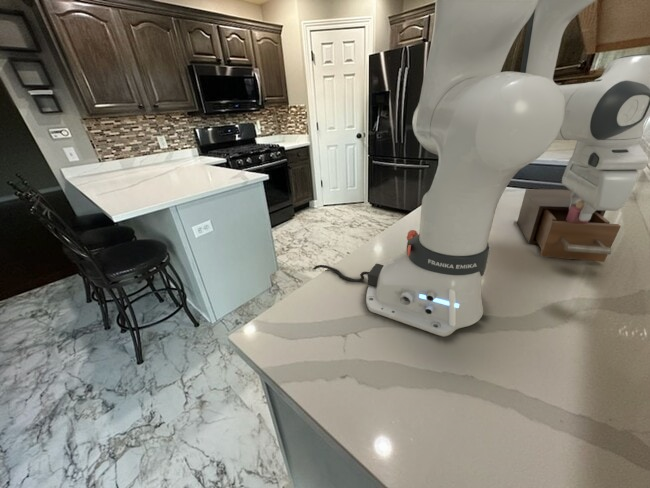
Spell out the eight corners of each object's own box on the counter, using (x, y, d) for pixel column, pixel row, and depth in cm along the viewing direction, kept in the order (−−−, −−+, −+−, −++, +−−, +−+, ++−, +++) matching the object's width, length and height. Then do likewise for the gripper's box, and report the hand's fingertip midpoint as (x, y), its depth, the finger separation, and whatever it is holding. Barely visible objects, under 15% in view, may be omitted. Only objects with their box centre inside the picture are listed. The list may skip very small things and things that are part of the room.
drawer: (615, 274, 54) (634, 236, 50) (547, 267, 58) (560, 231, 54) (579, 235, 69) (592, 204, 65) (527, 232, 73) (536, 202, 69)
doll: (571, 225, 59) (580, 202, 57) (565, 219, 62) (573, 197, 59) (586, 226, 58) (595, 203, 56) (579, 220, 61) (588, 197, 58)
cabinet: (589, 248, 65) (607, 208, 60) (528, 243, 70) (539, 205, 65) (568, 224, 77) (581, 189, 72) (517, 222, 81) (525, 189, 77)
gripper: (564, 144, 62) (547, 200, 69) (606, 162, 46) (578, 232, 52) (599, 143, 60) (577, 201, 66) (656, 161, 44) (620, 235, 50)
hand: (578, 215), depth 59 cm, fingers closed on doll, 3 cm apart
